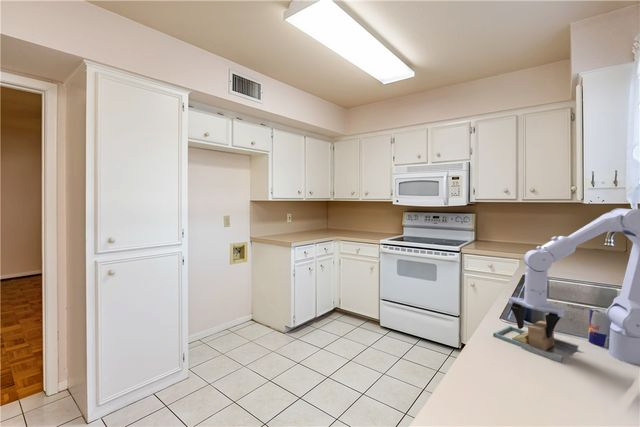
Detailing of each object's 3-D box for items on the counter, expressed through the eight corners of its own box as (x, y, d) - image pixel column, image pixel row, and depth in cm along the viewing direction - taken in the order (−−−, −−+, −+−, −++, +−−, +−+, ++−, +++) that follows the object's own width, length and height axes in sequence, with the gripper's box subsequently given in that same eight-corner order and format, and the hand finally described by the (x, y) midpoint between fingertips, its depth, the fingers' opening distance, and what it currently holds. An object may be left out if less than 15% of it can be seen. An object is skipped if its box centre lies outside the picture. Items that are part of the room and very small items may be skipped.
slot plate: (539, 342, 101) (540, 333, 101) (578, 355, 92) (578, 345, 92) (521, 352, 93) (521, 343, 93) (560, 368, 85) (561, 357, 85)
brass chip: (521, 343, 99) (517, 335, 100) (534, 342, 96) (530, 333, 97) (515, 346, 96) (511, 338, 97) (528, 345, 93) (524, 336, 94)
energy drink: (583, 343, 100) (585, 306, 100) (602, 344, 99) (604, 307, 99) (596, 351, 95) (598, 313, 94) (615, 352, 94) (617, 314, 94)
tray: (509, 332, 107) (509, 325, 107) (537, 342, 100) (537, 334, 100) (493, 340, 101) (493, 333, 101) (521, 351, 94) (521, 343, 94)
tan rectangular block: (541, 341, 98) (540, 320, 98) (554, 344, 95) (553, 323, 95) (529, 348, 93) (527, 326, 93) (542, 352, 90) (541, 329, 91)
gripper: (504, 285, 99) (503, 327, 100) (558, 297, 87) (556, 344, 88) (515, 282, 103) (513, 322, 104) (568, 293, 91) (566, 338, 92)
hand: (534, 332), depth 96 cm, fingers open, 7 cm apart
